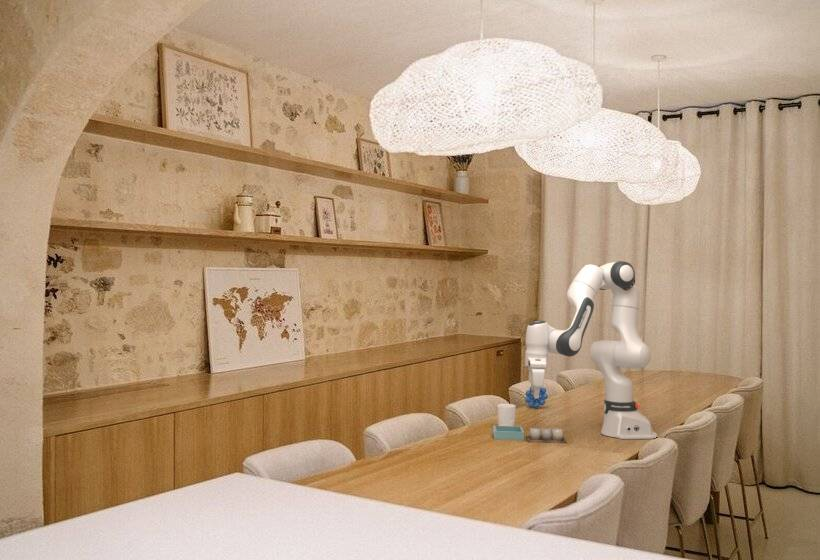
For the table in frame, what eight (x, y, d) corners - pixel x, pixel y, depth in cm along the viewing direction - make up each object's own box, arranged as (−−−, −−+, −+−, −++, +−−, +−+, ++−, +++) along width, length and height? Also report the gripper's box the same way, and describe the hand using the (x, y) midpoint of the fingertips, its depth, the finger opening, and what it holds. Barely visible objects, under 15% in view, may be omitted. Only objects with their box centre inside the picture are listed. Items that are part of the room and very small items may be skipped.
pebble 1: (539, 439, 295) (539, 427, 295) (540, 441, 291) (541, 429, 291) (529, 438, 295) (529, 427, 295) (530, 440, 291) (530, 429, 291)
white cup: (514, 431, 312) (515, 407, 312) (496, 430, 314) (496, 406, 314) (516, 427, 320) (516, 404, 320) (497, 426, 321) (498, 403, 321)
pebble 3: (561, 439, 295) (561, 428, 295) (562, 441, 291) (563, 430, 291) (551, 439, 295) (551, 428, 295) (552, 441, 291) (552, 430, 291)
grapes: (550, 408, 368) (550, 384, 368) (546, 410, 362) (546, 385, 362) (527, 406, 373) (527, 382, 373) (523, 408, 367) (523, 383, 367)
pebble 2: (550, 439, 295) (550, 428, 295) (551, 441, 291) (552, 430, 291) (540, 439, 295) (540, 427, 295) (541, 441, 291) (541, 429, 291)
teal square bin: (521, 434, 305) (521, 426, 305) (524, 441, 293) (524, 432, 293) (492, 434, 305) (493, 425, 305) (494, 440, 294) (494, 431, 294)
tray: (563, 439, 297) (563, 436, 297) (566, 444, 288) (566, 441, 288) (525, 438, 298) (526, 435, 298) (528, 443, 289) (528, 440, 289)
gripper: (525, 358, 305) (524, 392, 305) (530, 363, 284) (529, 399, 284) (541, 359, 304) (540, 393, 304) (547, 364, 284) (546, 400, 284)
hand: (535, 396), depth 294 cm, fingers open, 8 cm apart
